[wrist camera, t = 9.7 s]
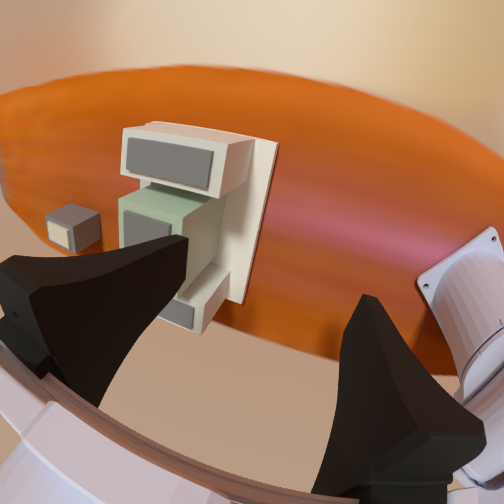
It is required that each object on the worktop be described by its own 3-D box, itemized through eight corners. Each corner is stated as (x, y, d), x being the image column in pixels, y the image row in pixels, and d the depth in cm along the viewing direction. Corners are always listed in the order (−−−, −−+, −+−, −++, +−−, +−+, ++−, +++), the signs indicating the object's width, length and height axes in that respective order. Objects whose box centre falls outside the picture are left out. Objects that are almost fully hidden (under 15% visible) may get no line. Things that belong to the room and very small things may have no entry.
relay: (100, 212, 26) (70, 227, 22) (101, 238, 27) (73, 255, 24) (71, 202, 27) (43, 215, 23) (73, 226, 28) (46, 241, 24)
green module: (227, 188, 20) (179, 219, 14) (217, 254, 23) (174, 302, 17) (174, 175, 21) (115, 200, 15) (168, 238, 23) (118, 277, 18)
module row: (279, 142, 18) (254, 150, 13) (244, 299, 25) (218, 345, 20) (156, 121, 20) (103, 127, 15) (148, 263, 27) (109, 297, 21)
